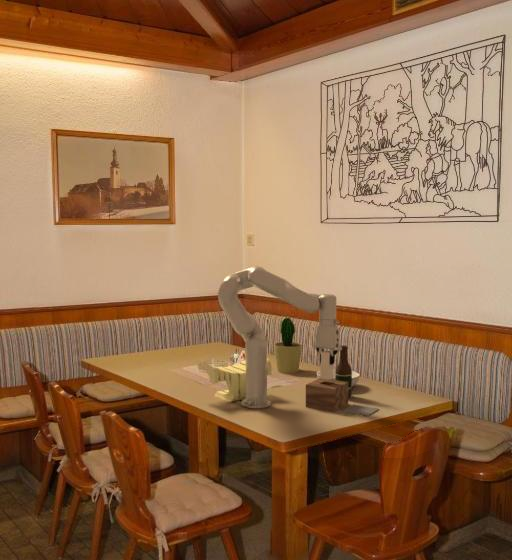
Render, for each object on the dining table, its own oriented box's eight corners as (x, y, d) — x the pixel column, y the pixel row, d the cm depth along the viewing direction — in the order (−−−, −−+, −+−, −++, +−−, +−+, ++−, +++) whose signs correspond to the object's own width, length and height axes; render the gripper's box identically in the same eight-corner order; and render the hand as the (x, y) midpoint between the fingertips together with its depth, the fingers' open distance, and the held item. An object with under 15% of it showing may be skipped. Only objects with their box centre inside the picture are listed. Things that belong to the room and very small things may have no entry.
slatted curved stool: (215, 406, 290) (214, 367, 289) (198, 398, 304) (198, 360, 302) (271, 396, 307) (271, 359, 305) (253, 389, 320) (253, 353, 318)
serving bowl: (358, 393, 312) (358, 379, 311) (314, 391, 316) (314, 377, 315) (360, 383, 332) (360, 369, 332) (318, 381, 336) (319, 367, 336)
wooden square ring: (334, 411, 282) (334, 388, 281) (305, 406, 290) (305, 384, 289) (348, 404, 294) (348, 382, 293) (320, 399, 301) (320, 378, 301)
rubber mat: (367, 416, 275) (367, 415, 275) (341, 412, 281) (341, 411, 281) (378, 409, 285) (378, 408, 285) (353, 405, 292) (353, 404, 291)
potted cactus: (301, 374, 350) (301, 319, 347) (272, 373, 352) (272, 318, 350) (303, 368, 365) (303, 314, 362) (276, 367, 368) (275, 314, 365)
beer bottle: (340, 393, 312) (341, 343, 309) (354, 396, 307) (355, 345, 304) (331, 397, 306) (332, 346, 303) (346, 399, 301) (346, 348, 298)
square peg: (328, 379, 288) (329, 352, 287) (320, 378, 290) (321, 351, 289) (332, 378, 291) (333, 351, 290) (324, 376, 294) (325, 350, 292)
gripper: (348, 323, 287) (347, 364, 289) (314, 319, 296) (314, 359, 298) (341, 325, 281) (340, 367, 283) (306, 322, 290) (306, 362, 291)
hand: (327, 363), depth 290 cm, fingers closed on square peg, 4 cm apart
